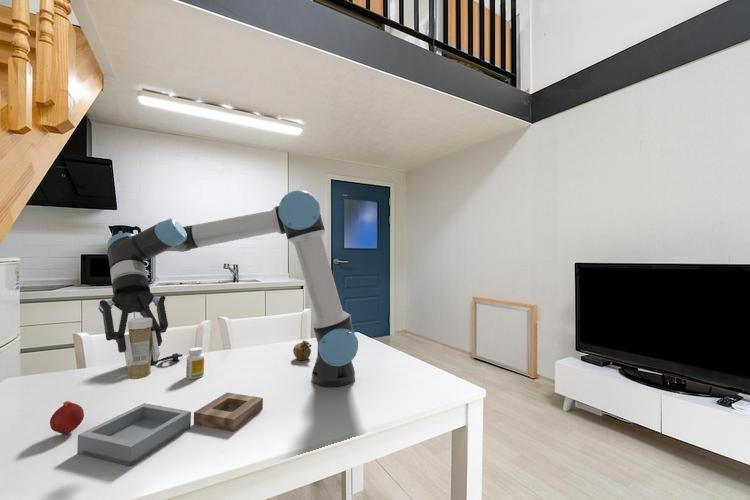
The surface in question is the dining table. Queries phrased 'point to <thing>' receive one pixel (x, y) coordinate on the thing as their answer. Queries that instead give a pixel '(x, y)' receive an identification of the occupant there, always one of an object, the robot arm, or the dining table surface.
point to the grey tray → (133, 434)
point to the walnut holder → (226, 420)
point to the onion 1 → (67, 418)
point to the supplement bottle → (195, 363)
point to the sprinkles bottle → (140, 347)
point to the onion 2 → (302, 350)
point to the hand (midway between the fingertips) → (143, 360)
